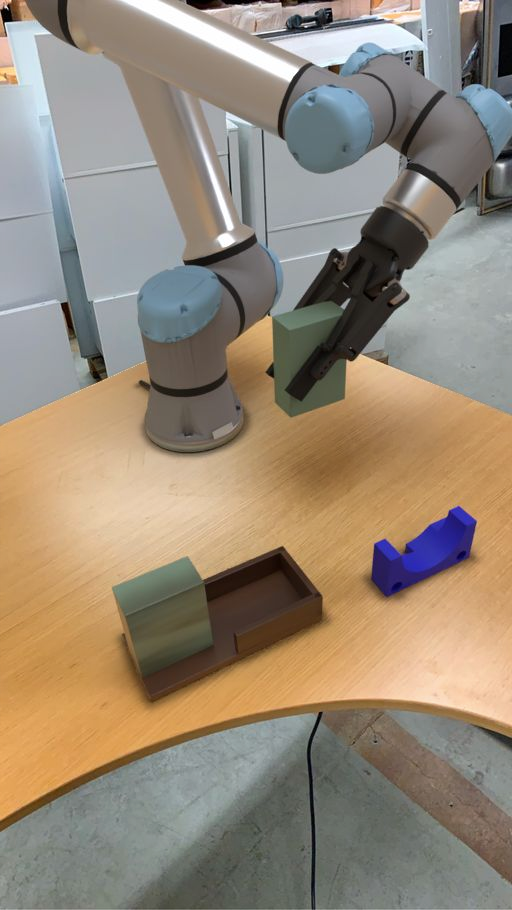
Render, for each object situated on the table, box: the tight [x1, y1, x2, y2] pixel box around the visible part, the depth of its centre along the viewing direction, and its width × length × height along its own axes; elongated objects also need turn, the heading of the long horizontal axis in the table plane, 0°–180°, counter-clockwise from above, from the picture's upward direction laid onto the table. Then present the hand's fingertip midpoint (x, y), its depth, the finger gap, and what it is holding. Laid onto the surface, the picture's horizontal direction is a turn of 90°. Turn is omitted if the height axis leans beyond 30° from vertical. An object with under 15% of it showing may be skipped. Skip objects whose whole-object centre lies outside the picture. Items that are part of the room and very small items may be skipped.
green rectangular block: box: [271, 301, 348, 418], centre depth 79 cm, size 4×8×12 cm, turn 118°
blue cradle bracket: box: [370, 505, 478, 598], centre depth 76 cm, size 12×4×6 cm, turn 118°
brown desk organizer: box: [111, 545, 324, 703], centre depth 68 cm, size 9×20×11 cm, turn 118°
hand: (283, 386), depth 80 cm, fingers closed on green rectangular block, 4 cm apart
